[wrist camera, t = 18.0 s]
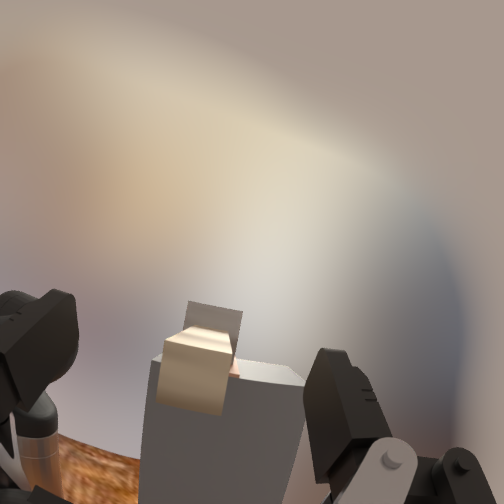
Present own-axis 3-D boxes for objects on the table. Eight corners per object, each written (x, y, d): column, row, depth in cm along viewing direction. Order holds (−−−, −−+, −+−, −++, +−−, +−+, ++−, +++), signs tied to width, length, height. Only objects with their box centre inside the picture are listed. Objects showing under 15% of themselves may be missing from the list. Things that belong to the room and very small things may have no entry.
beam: (243, 419, 12) (263, 313, 13) (134, 396, 11) (151, 290, 12) (231, 355, 31) (239, 311, 32) (186, 346, 31) (194, 302, 32)
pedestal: (246, 594, 15) (313, 383, 22) (139, 578, 15) (152, 356, 21) (240, 551, 25) (287, 363, 32) (152, 537, 24) (173, 343, 31)
